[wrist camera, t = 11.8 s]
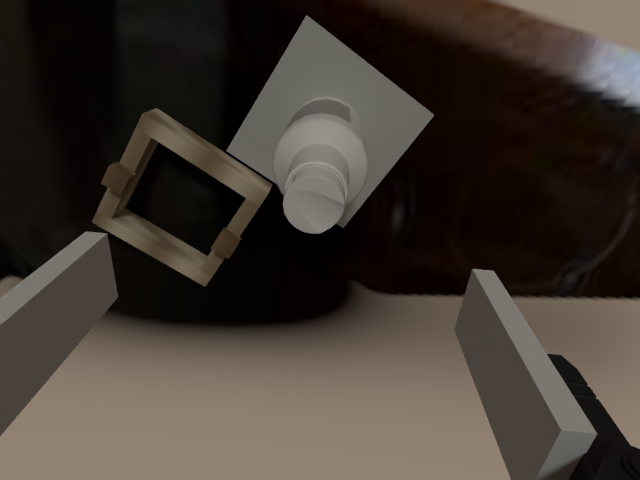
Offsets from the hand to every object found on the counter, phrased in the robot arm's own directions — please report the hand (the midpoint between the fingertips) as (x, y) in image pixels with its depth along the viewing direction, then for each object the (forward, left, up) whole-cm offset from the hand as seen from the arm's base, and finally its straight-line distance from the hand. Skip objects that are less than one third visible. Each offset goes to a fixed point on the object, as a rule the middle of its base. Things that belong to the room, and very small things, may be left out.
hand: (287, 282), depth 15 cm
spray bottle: (0, 0, -26) cm, 26 cm away
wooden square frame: (-7, -14, -27) cm, 31 cm away
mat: (+1, 0, -27) cm, 27 cm away
